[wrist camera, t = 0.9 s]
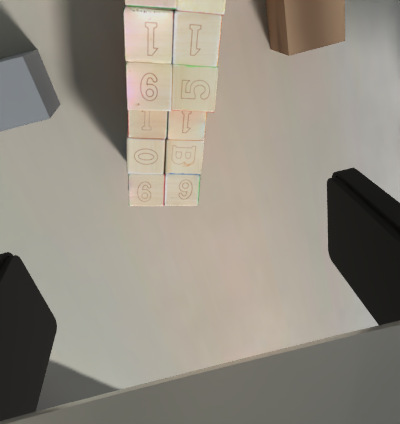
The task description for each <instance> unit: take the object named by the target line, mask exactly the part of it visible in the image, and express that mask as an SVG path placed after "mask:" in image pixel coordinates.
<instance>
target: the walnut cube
mask: <svg viewBox="0 0 400 424" xmlns="http://www.w3.org/2000/svg"><path fill="white" fill-rule="evenodd" d="M266 9H267V19H268V28H269V37H270V46H271V49H272V50H275V51H277V52H280V53H283V54H286V55H293V54H297V53H301V52H305V51H308V50H312V49H316V48H320V47H323V46H327V45H331V44H335V43H339V42H342V41H345V0H266Z"/></svg>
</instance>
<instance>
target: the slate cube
mask: <svg viewBox="0 0 400 424" xmlns="http://www.w3.org/2000/svg"><path fill="white" fill-rule="evenodd" d="M59 106H60V102H59V100H58V97H57V95H56V93H55V90H54V88H53V85H52V83H51V81H50V78H49V76H48V73H47V71H46V69H45V66H44V64H43V61H42V59H41V57H40V54H39V52H38V50H37V49H36V50H32V51H28V52H25V53H21V54H17V55H13V56H9V57H5V58H2V59H0V131H4V130H8V129H11V128H15V127H19V126H23V125H27V124H30V123H34V122H38V121H42V120H46V119H49V118H51V116H52V115H53V114H54V112H55V111H56V110H57V108H58V107H59Z"/></svg>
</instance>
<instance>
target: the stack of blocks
mask: <svg viewBox="0 0 400 424" xmlns="http://www.w3.org/2000/svg"><path fill="white" fill-rule="evenodd" d="M225 4H226V0H125V8H124V11H123V15H124V45H125V60H126V89H127V110H128V132H127V173H128V190H129V206H164V205H166V206H198V201H199V188H200V174H201V171H202V160H203V148H204V138H205V128H206V114H207V112H214V111H215V100H216V90H217V79H218V66H217V65H218V57H219V47H220V36H221V26H222V16H223V15H224V12H225Z"/></svg>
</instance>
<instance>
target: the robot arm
mask: <svg viewBox="0 0 400 424" xmlns="http://www.w3.org/2000/svg"><path fill="white" fill-rule="evenodd" d="M327 207H328V251H329V255H330V258H331V260H332V262H333V263H334V265H335V266H336V267H337V269H338V270H339V271H340V273H341V274H342V276H343V277H344V278H345V280H346V281H347V282H348V284H349V285H350V286H351V288H352V289H353V290H354V292H355V293H356V295H357V296H358V297H359V299H360V300H361V301H362V303H363V304H364V305H365V307H366V308H367V310H368V311H369V312H370V314H371V315H372V316H373V318H374V319H375V320H376V322H377V323H378V325H379V326H375V327H370V328H366V329H362V330H358V331H353V332H349V333H345V334H341V335H337V336H333V337H328V338H324V339H320V340H316V341H312V342H308V343H304V344H300V345H296V346H292V347H288V348H284V349H280V350H276V351H272V352H268V353H264V354H260V355H256V356H252V357H248V358H244V359H240V360H236V361H232V362H228V363H224V364H220V365H216V366H212V367H208V368H204V369H200V370H196V371H192V372H188V373H184V374H180V375H176V376H172V377H169V378H165V379H161V380H157V381H153V382H149V383H145V384H141V385H137V386H133V387H129V388H125V389H122V390H118V391H114V392H110V393H106V394H102V395H98V396H95V397H91V398H87V399H83V400H79V401H76V402H71V403H68V404H64V405H60V406H56V407H52V408H48V409H44V410H41V411H37V412H36V408H37V404H38V400H39V396H40V392H41V388H42V384H43V380H44V376H45V373H46V368H47V365H48V361H49V357H50V353H51V350H52V346H53V342H54V338H55V334H56V330H57V324H56V320H55V317H54V316H53V314H52V312H51V311H50V309H49V307H48V305H47V304H46V302H45V300H44V298H43V297H42V295H41V293H40V291H39V290H38V288H37V286H36V285H35V283H34V281H33V279H32V278H31V276H30V274H29V272H28V271H27V269H26V267H25V266H24V264H23V262H22V260H21V259H20V257H18V256H16V255H15V256H13V255H12V254H11V253H9V252H7V253H3V254H0V424H400V203H399V202H398V201H396V200H395V199H394V198H392V197H391V196H390V195H389V194H387V193H386V192H385V191H384V190H382V189H381V188H380V187H378V186H377V185H376V184H375V183H373V182H372V181H371V180H369V179H368V178H367V177H366V176H364V175H363V174H362V173H360V172H359V171H358V170H357V169H355V168H350V169H346V170H342V171H338V172H334V173H333V175H332V178H329V179H328V181H327Z"/></svg>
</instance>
